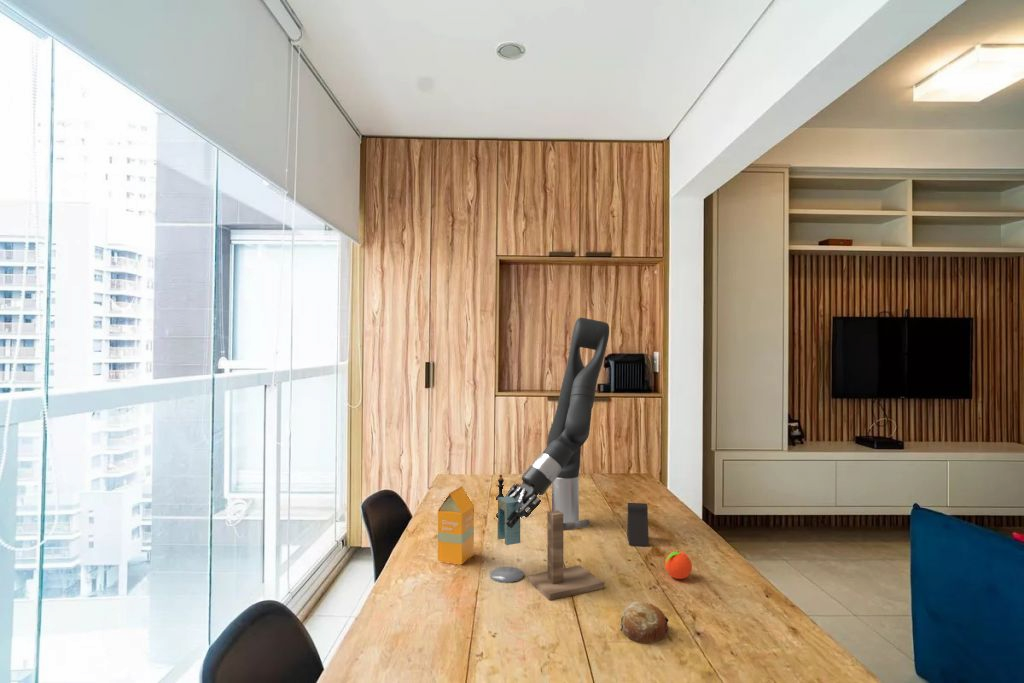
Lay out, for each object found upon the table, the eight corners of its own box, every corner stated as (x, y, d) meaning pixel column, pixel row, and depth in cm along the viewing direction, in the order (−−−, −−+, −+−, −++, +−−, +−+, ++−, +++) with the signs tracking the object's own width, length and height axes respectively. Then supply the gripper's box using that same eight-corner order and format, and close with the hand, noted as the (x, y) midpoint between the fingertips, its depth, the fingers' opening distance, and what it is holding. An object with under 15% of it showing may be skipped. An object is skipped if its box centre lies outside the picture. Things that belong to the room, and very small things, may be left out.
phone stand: (648, 547, 167) (648, 508, 167) (629, 546, 168) (628, 507, 168) (645, 537, 176) (645, 500, 176) (627, 536, 177) (626, 499, 177)
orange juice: (474, 554, 161) (474, 486, 162) (461, 565, 153) (462, 494, 153) (450, 551, 164) (450, 484, 164) (437, 561, 155) (437, 492, 156)
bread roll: (622, 637, 122) (607, 605, 122) (662, 615, 123) (648, 584, 123) (636, 662, 112) (620, 627, 112) (680, 638, 113) (664, 604, 113)
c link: (497, 538, 148) (497, 497, 148) (510, 536, 149) (510, 496, 150) (506, 545, 142) (506, 503, 143) (520, 542, 144) (520, 501, 144)
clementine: (675, 586, 139) (675, 558, 139) (656, 576, 146) (656, 549, 146) (697, 580, 143) (697, 553, 143) (678, 570, 149) (678, 545, 149)
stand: (527, 581, 142) (527, 508, 143) (579, 570, 149) (579, 501, 149) (549, 600, 132) (549, 521, 132) (604, 588, 138) (604, 513, 139)
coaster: (485, 572, 148) (485, 570, 148) (515, 566, 152) (515, 564, 152) (498, 585, 140) (498, 582, 140) (529, 579, 144) (529, 576, 144)
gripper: (521, 460, 156) (483, 506, 151) (545, 469, 143) (505, 521, 138) (538, 476, 158) (501, 523, 153) (563, 487, 145) (523, 539, 140)
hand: (503, 522), depth 145 cm, fingers closed on c link, 6 cm apart
